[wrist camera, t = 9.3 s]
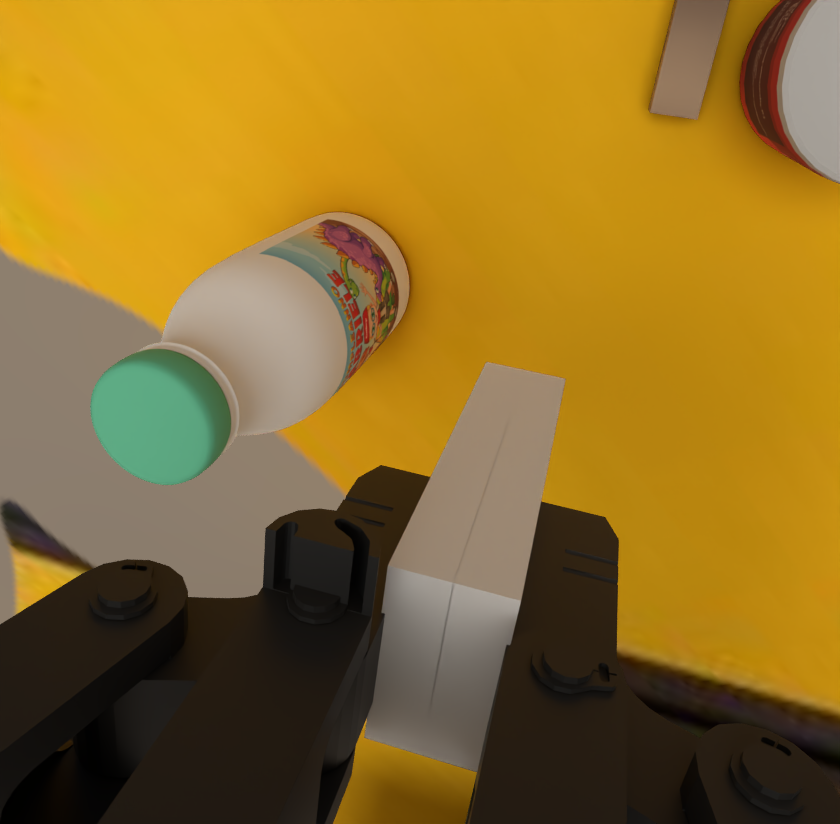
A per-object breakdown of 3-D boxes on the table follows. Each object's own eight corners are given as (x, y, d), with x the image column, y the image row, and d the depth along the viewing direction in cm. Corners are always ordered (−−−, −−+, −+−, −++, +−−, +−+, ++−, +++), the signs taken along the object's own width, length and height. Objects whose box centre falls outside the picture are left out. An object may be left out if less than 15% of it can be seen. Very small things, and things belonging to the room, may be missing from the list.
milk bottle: (307, 355, 45) (101, 539, 27) (264, 227, 42) (5, 340, 25) (428, 330, 42) (287, 516, 25) (390, 194, 40) (202, 292, 22)
